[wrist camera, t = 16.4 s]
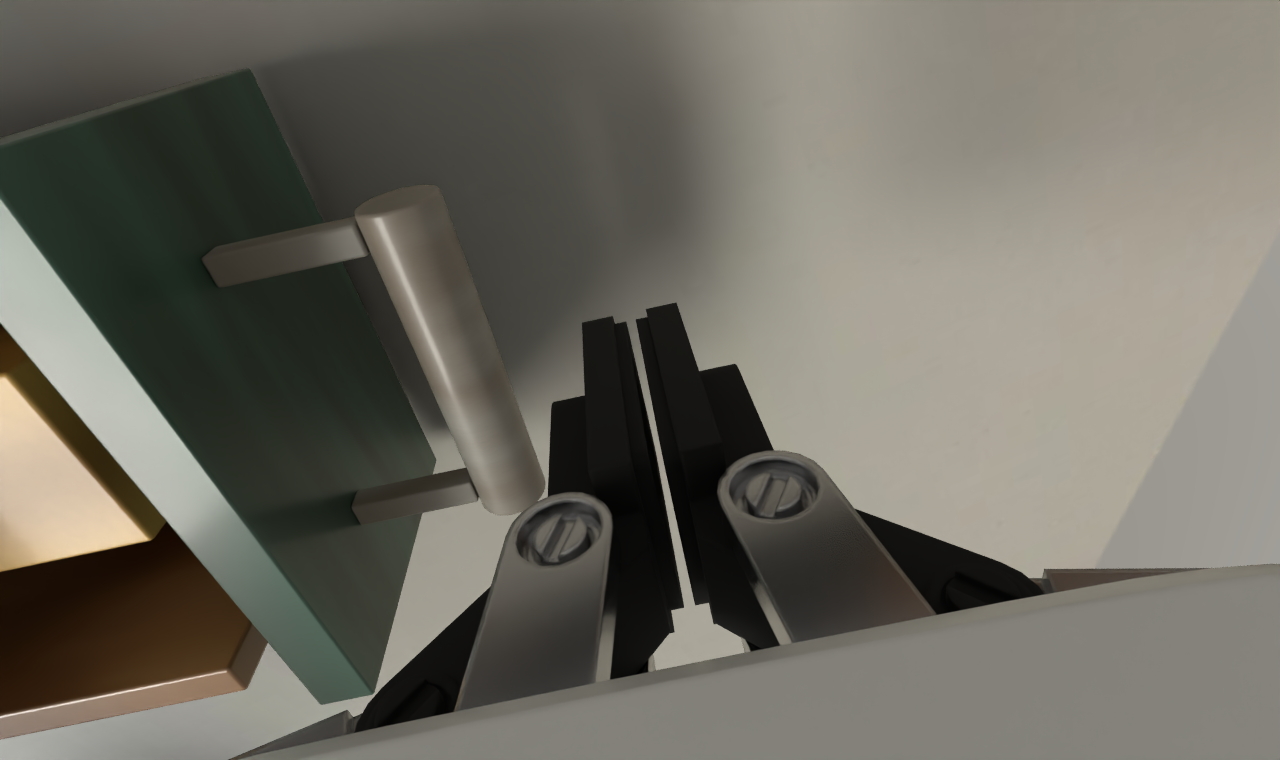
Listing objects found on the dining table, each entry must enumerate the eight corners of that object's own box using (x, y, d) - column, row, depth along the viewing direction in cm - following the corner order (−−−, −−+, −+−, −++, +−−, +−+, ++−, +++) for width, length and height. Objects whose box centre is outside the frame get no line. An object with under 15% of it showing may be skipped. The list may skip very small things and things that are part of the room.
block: (-36, 313, 15) (-230, 423, 11) (143, 273, 15) (6, 373, 11) (86, 453, 18) (-42, 582, 14) (241, 420, 17) (154, 541, 14)
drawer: (440, 25, 14) (327, 74, 7) (568, 432, 20) (569, 656, 14) (-337, 198, 14) (-1106, 392, 8) (26, 545, 20) (-229, 816, 14)
